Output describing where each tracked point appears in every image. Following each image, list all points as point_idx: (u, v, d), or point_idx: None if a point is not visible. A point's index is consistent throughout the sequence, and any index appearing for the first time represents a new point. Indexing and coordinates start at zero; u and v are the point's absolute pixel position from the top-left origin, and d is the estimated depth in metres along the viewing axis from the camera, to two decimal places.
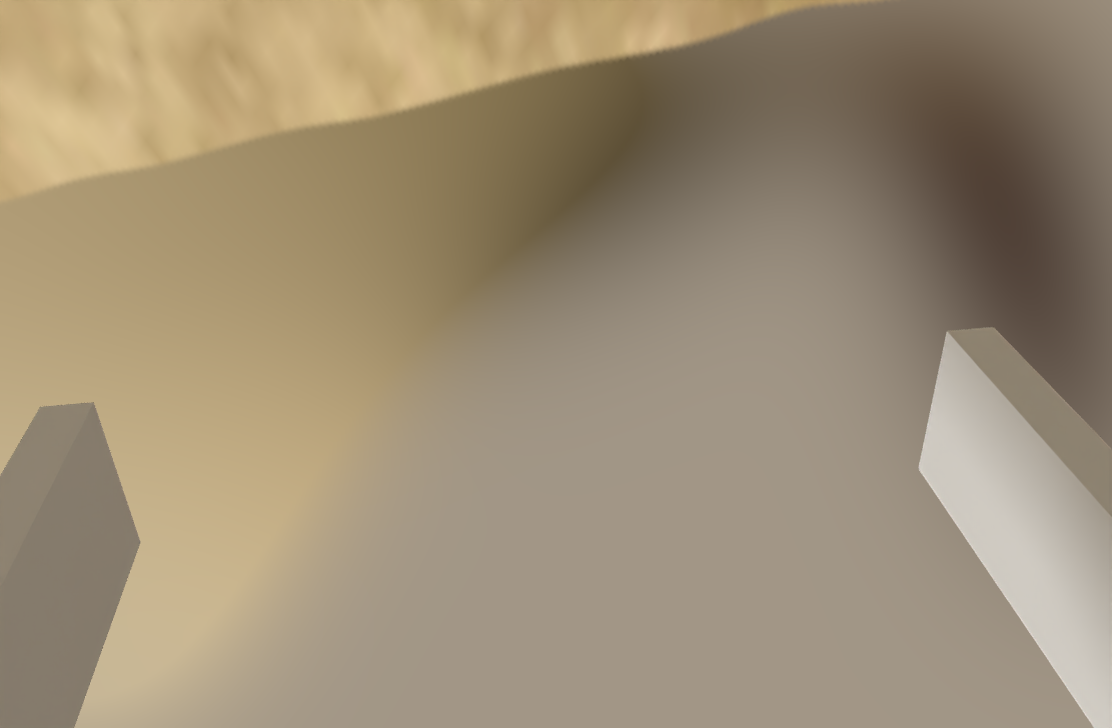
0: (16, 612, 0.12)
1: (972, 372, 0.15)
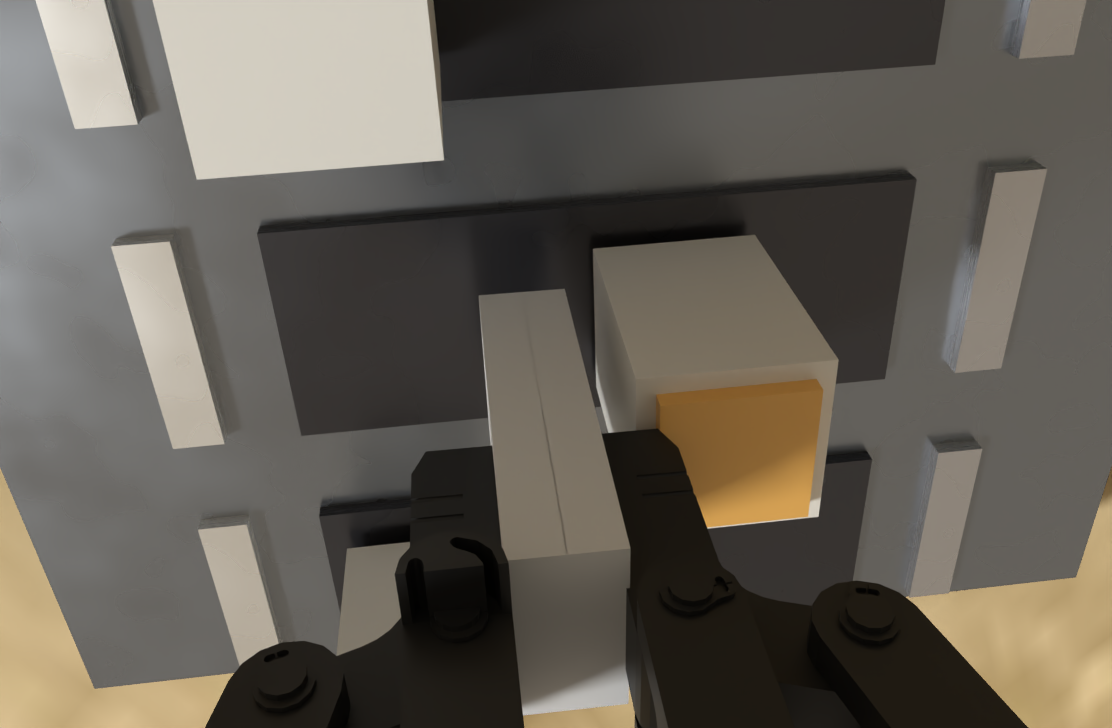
0: None
1: (525, 329, 0.16)
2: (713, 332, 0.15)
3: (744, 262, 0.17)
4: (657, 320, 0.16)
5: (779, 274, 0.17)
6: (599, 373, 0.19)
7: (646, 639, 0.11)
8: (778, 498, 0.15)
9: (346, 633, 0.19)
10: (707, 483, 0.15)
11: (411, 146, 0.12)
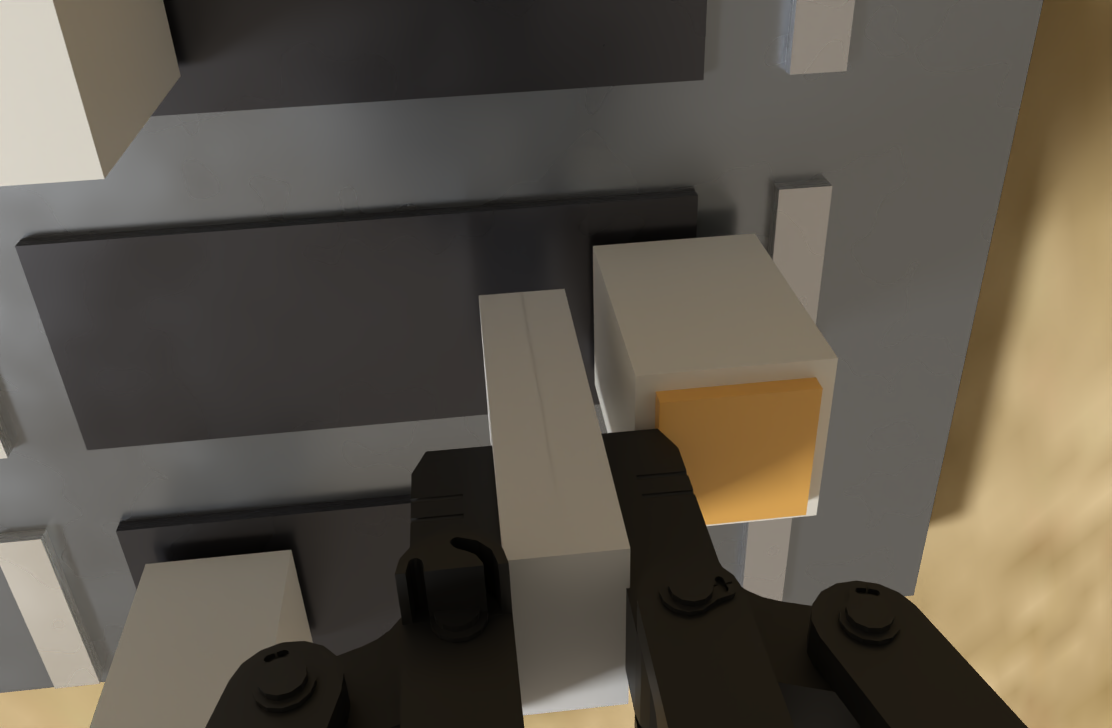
0: None
1: (525, 329, 0.16)
2: (713, 330, 0.15)
3: (744, 260, 0.17)
4: (656, 318, 0.16)
5: (779, 272, 0.17)
6: (598, 370, 0.19)
7: (646, 639, 0.11)
8: (776, 496, 0.15)
9: (123, 652, 0.19)
10: (706, 481, 0.15)
11: (66, 164, 0.12)
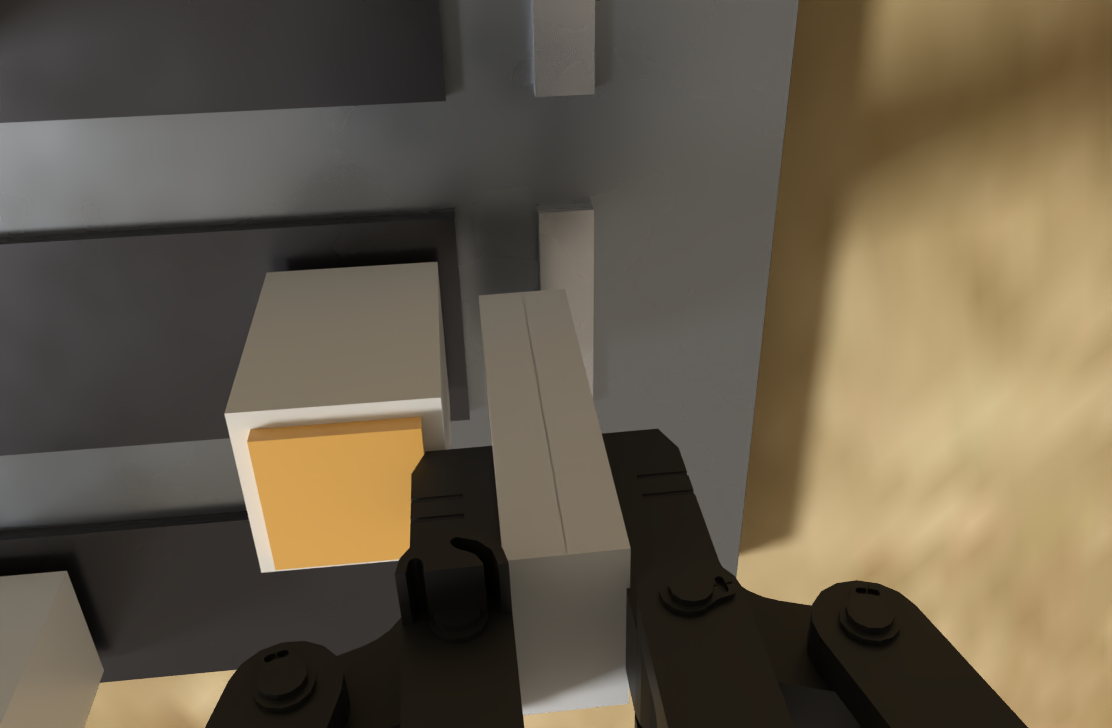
0: None
1: (525, 328, 0.16)
2: (333, 364, 0.15)
3: (409, 290, 0.17)
4: (283, 350, 0.15)
5: (436, 304, 0.16)
6: None
7: (646, 639, 0.11)
8: (398, 537, 0.15)
9: None
10: (317, 521, 0.15)
11: None
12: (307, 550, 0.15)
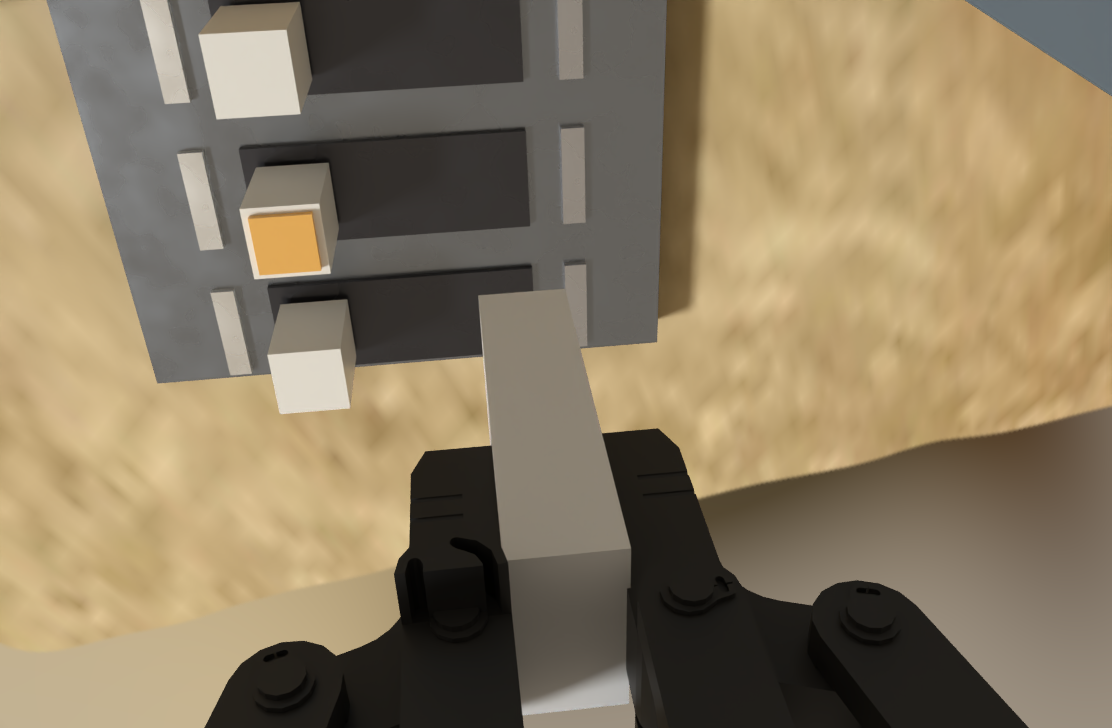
0: None
1: (526, 329, 0.16)
2: (280, 195, 0.39)
3: (314, 172, 0.41)
4: (261, 191, 0.39)
5: (324, 176, 0.40)
6: None
7: (646, 639, 0.11)
8: (306, 261, 0.39)
9: (276, 330, 0.43)
10: (274, 253, 0.39)
11: (289, 109, 0.36)
12: (271, 266, 0.39)
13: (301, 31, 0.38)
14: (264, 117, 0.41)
